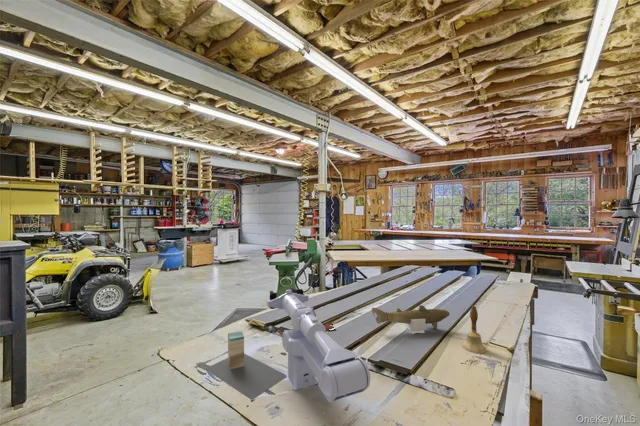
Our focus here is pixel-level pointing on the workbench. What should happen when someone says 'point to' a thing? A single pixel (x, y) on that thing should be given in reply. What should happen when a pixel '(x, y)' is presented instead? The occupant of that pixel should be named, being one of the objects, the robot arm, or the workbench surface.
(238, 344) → the beech block
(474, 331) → the hand bell
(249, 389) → the rubber mat
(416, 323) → the wood carving
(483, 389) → the workbench surface
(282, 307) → the robot arm
